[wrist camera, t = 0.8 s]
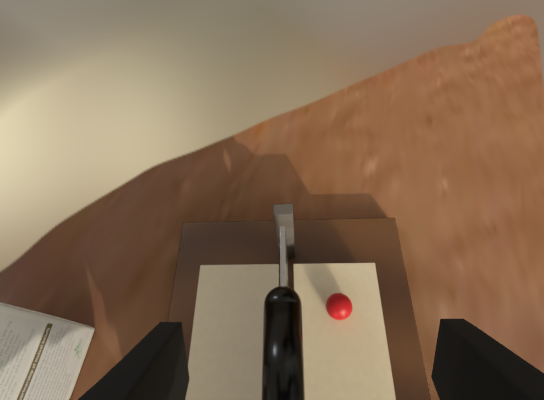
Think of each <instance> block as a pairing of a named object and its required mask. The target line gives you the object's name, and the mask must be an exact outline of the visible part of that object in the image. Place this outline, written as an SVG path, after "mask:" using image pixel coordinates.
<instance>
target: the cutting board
mask: <svg viewBox="0 0 544 400" xmlns="http://www.w3.org/2000/svg"><path fill="white" fill-rule="evenodd" d="M273 216H274V221H233V222H190V223H183V230H182V236H181V242H180V248H179V254H178V261H177V267H176V273H175V279H174V285H173V292H172V298H171V304H170V310H169V316H168V322H182V328H183V335H184V343H185V350H186V357H187V364H188V362H189V353H190V345H191V337H192V329H193V321H194V313H195V305H196V297H197V289H198V281H199V273H200V265H250V264H279V269H280V226H285V227H286V239H287V250H288V287H290V288H292V289H293V290H294V270H293V264H321V263H375V266H376V273H377V280H378V286H379V293H380V299H381V306H382V312H383V319H384V325H385V332H386V338H387V345H388V351H389V358H390V365H391V371H392V378H393V384H394V391H395V397H396V400H431V398H430V393H429V388H428V383H427V378H426V373H425V368H424V363H423V358H422V353H421V347H420V342H419V337H418V332H417V327H416V322H415V317H414V312H413V307H412V302H411V297H410V292H409V287H408V282H407V277H406V272H405V267H404V262H403V257H402V252H401V247H400V242H399V237H398V232H397V227H396V222H395V218H361V219H319V220H294V218H293V204H274V205H273Z"/></svg>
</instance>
